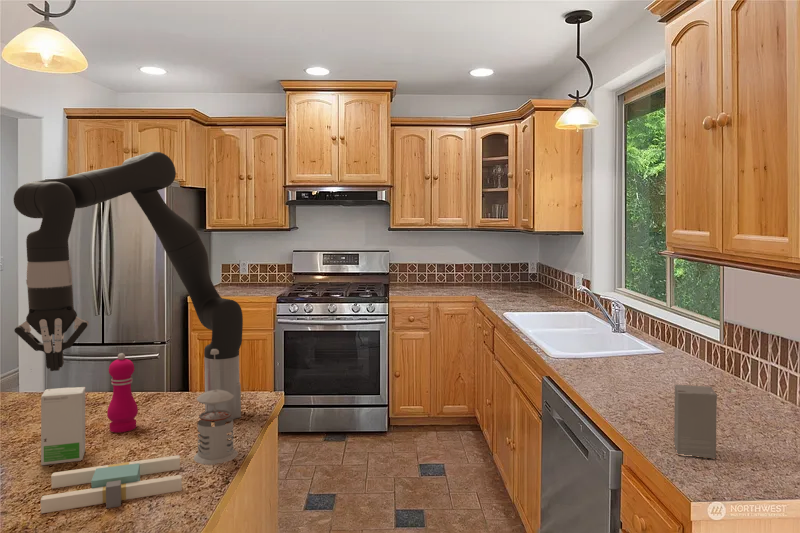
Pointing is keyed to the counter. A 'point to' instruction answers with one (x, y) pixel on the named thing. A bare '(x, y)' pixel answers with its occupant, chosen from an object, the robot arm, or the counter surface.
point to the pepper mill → (122, 396)
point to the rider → (116, 475)
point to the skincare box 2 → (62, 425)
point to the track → (111, 485)
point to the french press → (215, 428)
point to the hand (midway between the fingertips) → (55, 369)
